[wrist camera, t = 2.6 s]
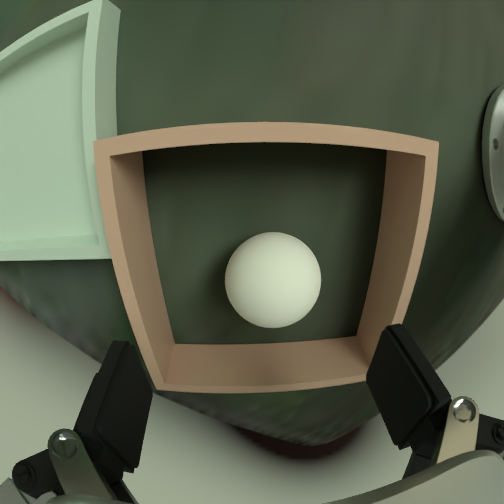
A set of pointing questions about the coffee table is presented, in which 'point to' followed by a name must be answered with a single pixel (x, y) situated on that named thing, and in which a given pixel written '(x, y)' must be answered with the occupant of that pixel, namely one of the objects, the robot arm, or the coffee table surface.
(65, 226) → the tray
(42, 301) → the coffee table surface
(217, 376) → the tan square frame
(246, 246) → the ball
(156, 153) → the coffee table surface
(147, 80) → the coffee table surface
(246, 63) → the coffee table surface
